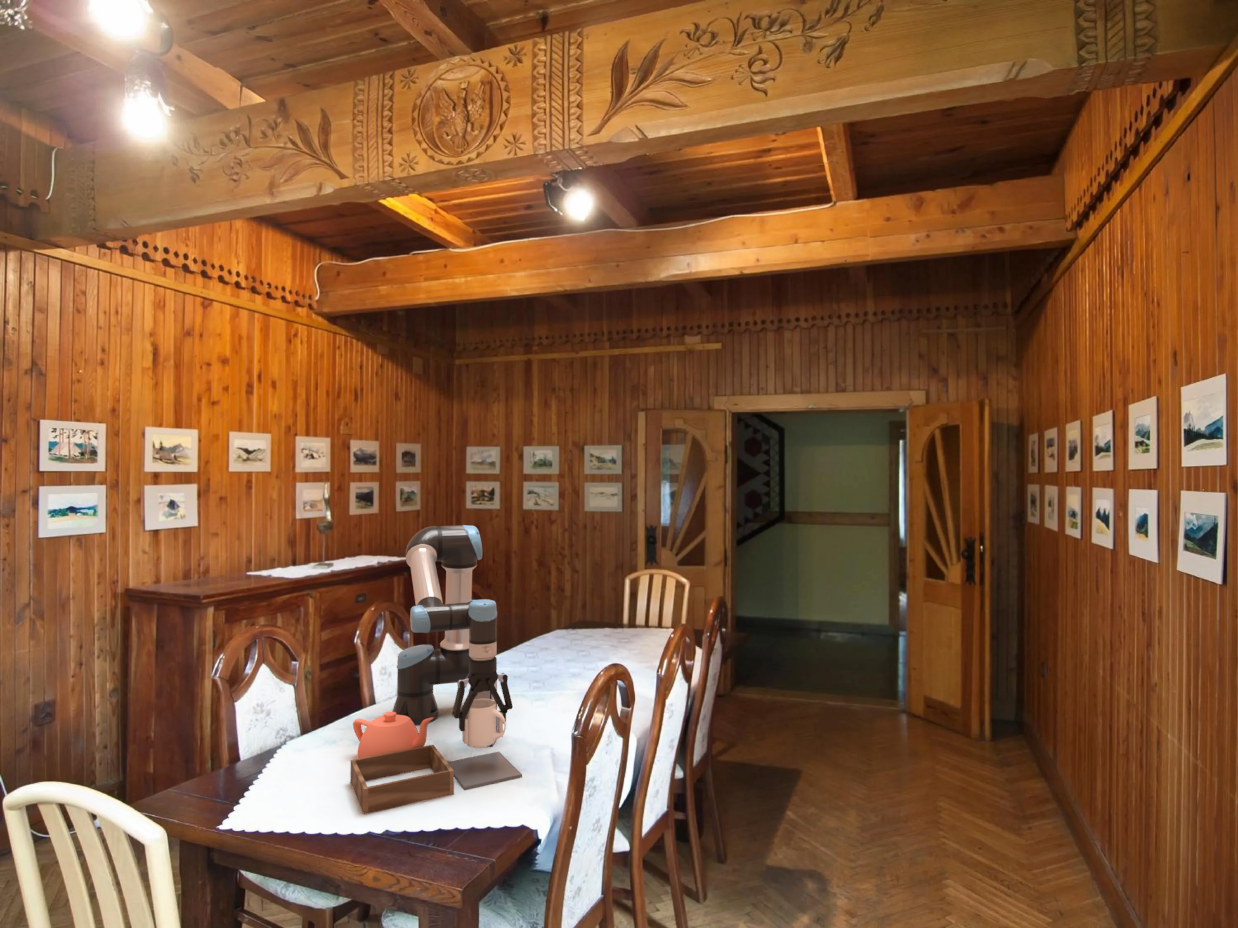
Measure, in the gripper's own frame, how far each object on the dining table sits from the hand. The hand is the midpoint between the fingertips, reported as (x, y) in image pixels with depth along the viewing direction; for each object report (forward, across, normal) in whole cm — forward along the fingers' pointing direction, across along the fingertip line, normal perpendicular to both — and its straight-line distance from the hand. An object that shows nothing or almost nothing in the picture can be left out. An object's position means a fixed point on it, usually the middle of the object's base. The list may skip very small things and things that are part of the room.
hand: (482, 738), depth 198 cm
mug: (+2, +1, 0) cm, 2 cm away
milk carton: (+9, +7, +20) cm, 23 cm away
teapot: (+9, -20, +20) cm, 30 cm away
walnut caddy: (+9, -22, 0) cm, 24 cm away
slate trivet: (+9, 0, 0) cm, 9 cm away
